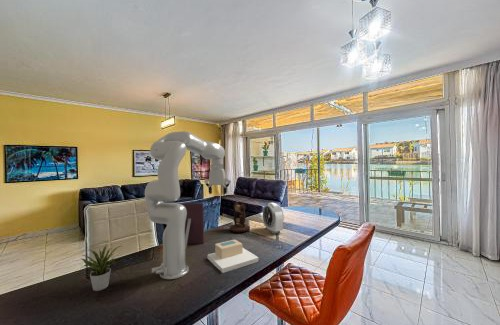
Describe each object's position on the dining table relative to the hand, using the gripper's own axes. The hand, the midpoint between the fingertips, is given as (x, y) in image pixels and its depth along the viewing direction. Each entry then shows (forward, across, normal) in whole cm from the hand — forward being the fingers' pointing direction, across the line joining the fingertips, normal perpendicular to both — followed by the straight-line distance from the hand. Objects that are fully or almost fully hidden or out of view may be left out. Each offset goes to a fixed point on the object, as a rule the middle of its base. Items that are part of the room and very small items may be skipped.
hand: (217, 193), depth 140 cm
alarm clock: (+30, +33, +23) cm, 51 cm away
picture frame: (+30, -15, -12) cm, 36 cm away
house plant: (+30, -30, -56) cm, 71 cm away
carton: (+28, +14, -23) cm, 39 cm away
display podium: (+30, +16, -26) cm, 43 cm away
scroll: (+30, +9, +21) cm, 38 cm away
